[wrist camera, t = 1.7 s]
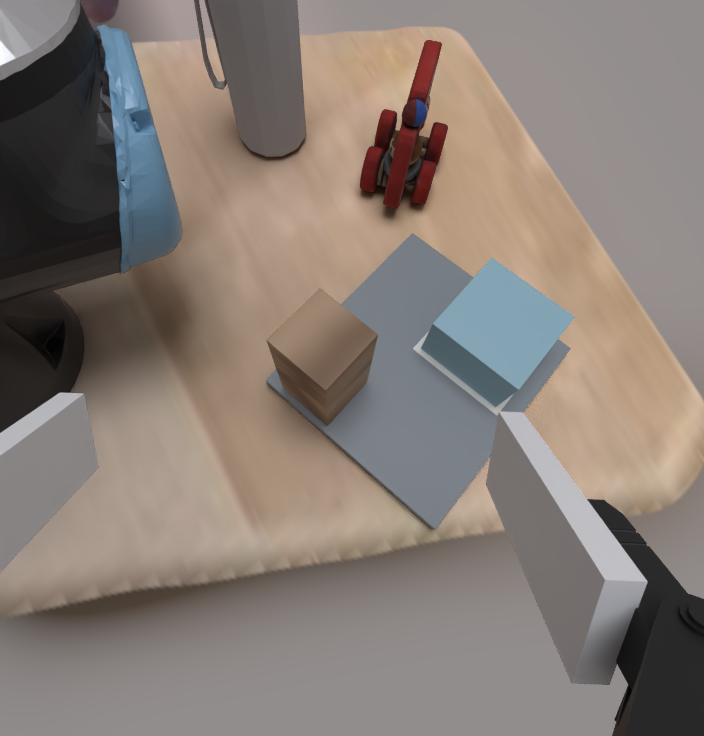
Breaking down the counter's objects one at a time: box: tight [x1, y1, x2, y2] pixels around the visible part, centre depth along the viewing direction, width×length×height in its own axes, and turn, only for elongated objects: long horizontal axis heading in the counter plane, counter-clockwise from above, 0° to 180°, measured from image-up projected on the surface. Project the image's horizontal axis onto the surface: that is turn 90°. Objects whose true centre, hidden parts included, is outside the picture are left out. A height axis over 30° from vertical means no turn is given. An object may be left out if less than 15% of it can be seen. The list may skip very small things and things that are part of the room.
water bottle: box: [194, 0, 306, 157], centre depth 37 cm, size 9×8×25 cm
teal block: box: [421, 258, 575, 407], centre depth 37 cm, size 8×8×5 cm
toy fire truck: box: [360, 40, 448, 209], centre depth 43 cm, size 7×12×10 cm, turn 164°
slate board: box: [266, 233, 571, 529], centre depth 39 cm, size 18×20×1 cm
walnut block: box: [267, 288, 378, 426], centre depth 33 cm, size 5×5×10 cm
